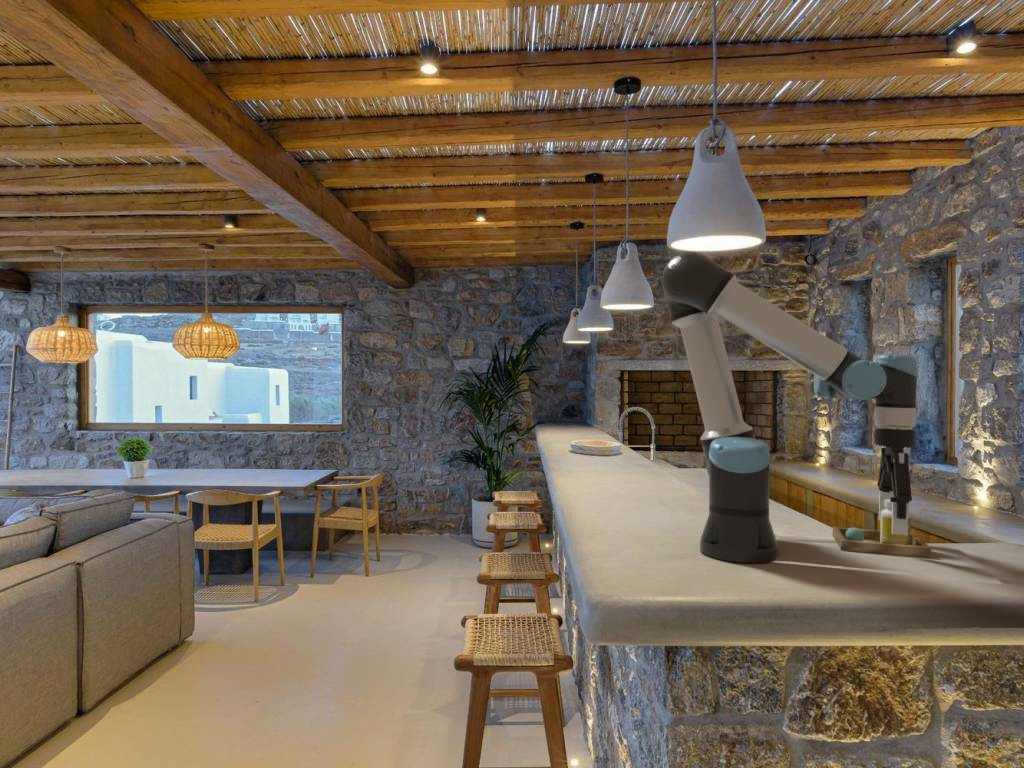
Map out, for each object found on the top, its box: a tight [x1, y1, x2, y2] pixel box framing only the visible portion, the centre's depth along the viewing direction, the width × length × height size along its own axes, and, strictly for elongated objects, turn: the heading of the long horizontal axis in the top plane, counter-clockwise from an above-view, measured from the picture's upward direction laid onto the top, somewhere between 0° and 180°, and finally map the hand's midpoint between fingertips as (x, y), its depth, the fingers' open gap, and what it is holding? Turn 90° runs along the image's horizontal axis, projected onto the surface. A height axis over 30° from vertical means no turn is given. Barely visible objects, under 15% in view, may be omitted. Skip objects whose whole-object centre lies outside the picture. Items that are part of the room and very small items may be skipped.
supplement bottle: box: [879, 499, 911, 545], centre depth 135 cm, size 5×5×10 cm
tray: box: [832, 526, 932, 559], centre depth 136 cm, size 16×14×2 cm
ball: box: [846, 526, 864, 541], centre depth 138 cm, size 4×4×4 cm
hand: (892, 527), depth 135 cm, fingers open, 13 cm apart
